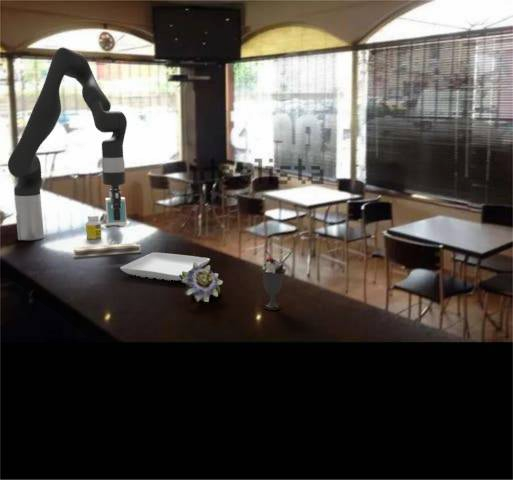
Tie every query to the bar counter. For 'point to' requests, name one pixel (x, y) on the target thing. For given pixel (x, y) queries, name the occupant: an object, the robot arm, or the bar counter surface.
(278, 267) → the sundae
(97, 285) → the bar counter surface
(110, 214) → the carton
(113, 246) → the shelf board
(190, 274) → the passion flower
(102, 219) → the cloth
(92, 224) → the supplement bottle
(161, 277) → the salad plate
